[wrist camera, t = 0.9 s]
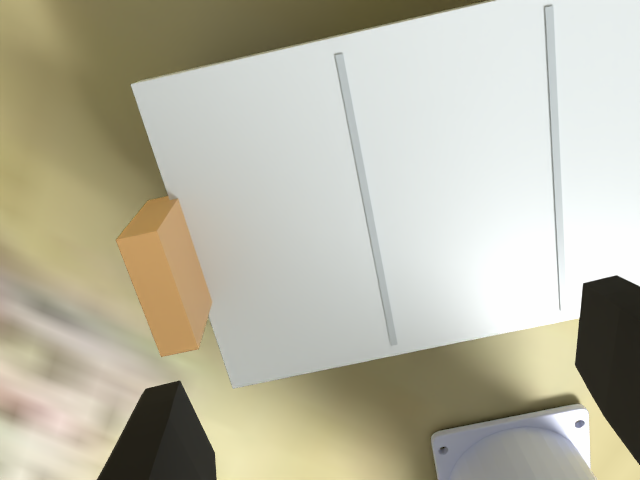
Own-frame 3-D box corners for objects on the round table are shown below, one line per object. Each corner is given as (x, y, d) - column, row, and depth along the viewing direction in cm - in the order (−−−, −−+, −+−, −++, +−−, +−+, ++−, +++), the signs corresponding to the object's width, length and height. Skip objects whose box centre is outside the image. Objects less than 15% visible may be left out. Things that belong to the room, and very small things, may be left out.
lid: (712, 271, 21) (805, 328, 17) (214, 374, 22) (197, 450, 18) (735, -57, 17) (866, -79, 13) (114, 86, 18) (63, 105, 14)
